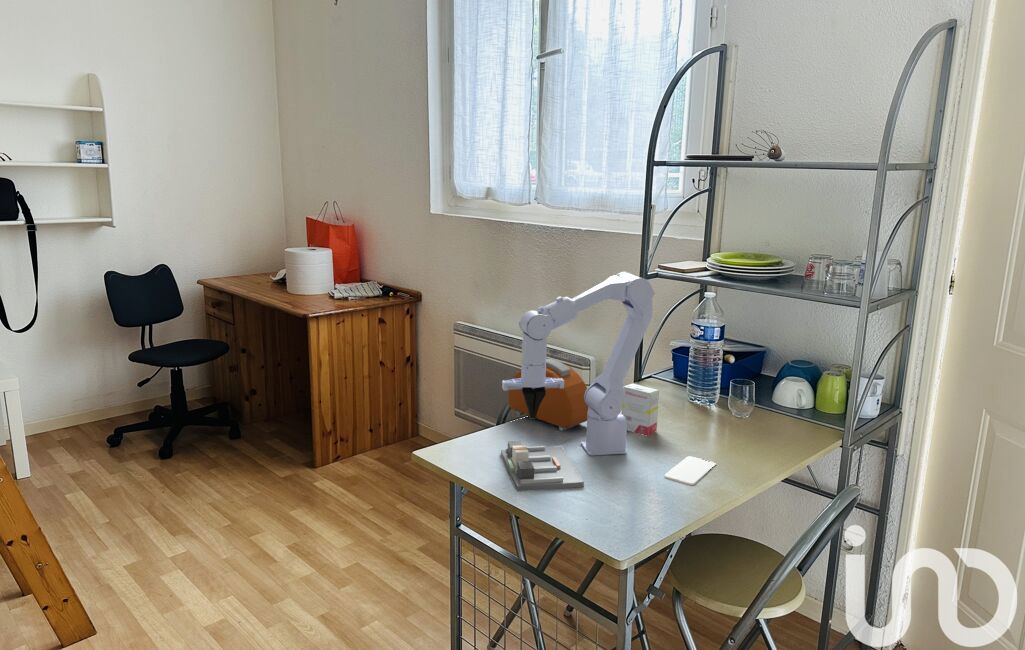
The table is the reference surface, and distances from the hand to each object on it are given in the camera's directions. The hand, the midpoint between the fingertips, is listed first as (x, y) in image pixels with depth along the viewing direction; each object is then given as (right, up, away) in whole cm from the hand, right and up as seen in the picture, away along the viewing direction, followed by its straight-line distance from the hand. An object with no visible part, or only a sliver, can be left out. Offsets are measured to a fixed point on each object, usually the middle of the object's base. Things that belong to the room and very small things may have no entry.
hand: (532, 417), depth 180 cm
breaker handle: (-3, -10, -6) cm, 12 cm away
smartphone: (+37, -12, -3) cm, 39 cm away
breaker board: (+2, -11, -5) cm, 13 cm away
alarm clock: (+5, -4, +27) cm, 28 cm away
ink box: (+29, -6, +21) cm, 36 cm away
